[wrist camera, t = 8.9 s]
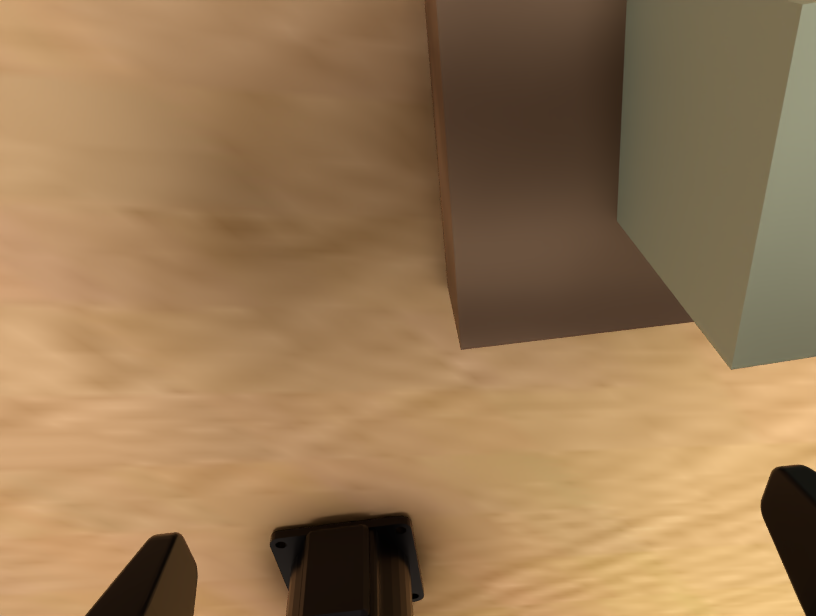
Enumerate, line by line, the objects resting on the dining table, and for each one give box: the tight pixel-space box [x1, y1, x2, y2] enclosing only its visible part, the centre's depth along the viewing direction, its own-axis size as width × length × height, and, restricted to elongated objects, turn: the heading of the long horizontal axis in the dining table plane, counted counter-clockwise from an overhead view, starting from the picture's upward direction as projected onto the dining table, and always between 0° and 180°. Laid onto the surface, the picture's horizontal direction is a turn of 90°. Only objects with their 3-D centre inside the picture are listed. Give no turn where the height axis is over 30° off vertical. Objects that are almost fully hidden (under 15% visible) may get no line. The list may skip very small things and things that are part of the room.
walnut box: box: [425, 0, 694, 350], centre depth 16 cm, size 14×14×4 cm
